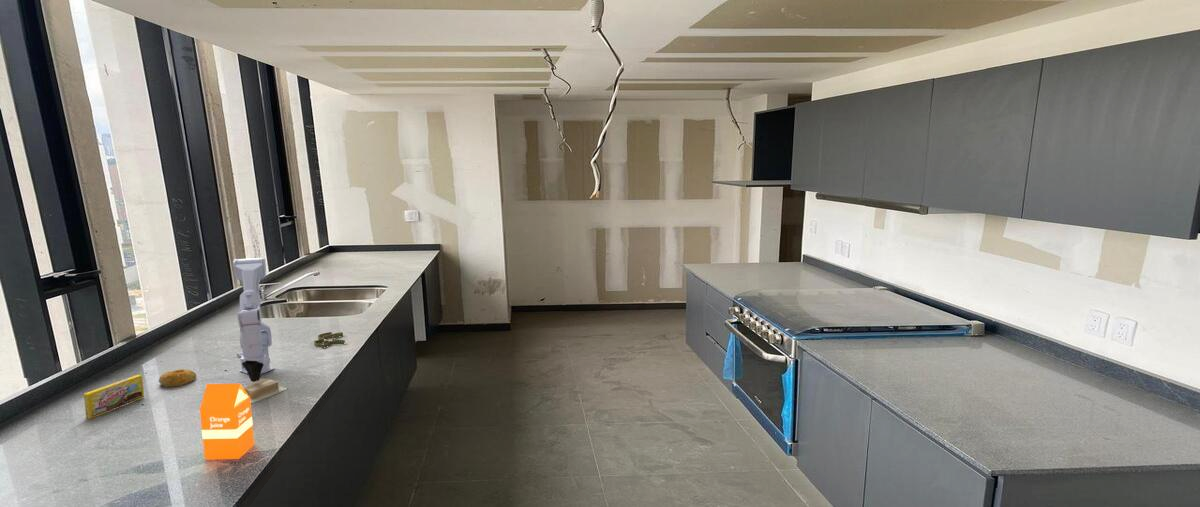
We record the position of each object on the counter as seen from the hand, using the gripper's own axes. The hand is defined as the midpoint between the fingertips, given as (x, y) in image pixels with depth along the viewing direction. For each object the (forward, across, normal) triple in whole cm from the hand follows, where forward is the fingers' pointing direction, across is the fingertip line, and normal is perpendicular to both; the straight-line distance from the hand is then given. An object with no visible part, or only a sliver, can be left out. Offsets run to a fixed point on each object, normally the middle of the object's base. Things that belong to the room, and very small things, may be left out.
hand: (255, 380), depth 184 cm
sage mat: (+4, +3, 0) cm, 5 cm away
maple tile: (+3, -2, 0) cm, 3 cm away
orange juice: (+5, +31, -28) cm, 42 cm away
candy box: (+5, -28, -27) cm, 39 cm away
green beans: (+5, -24, +49) cm, 55 cm away
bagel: (+5, -33, -6) cm, 34 cm away
